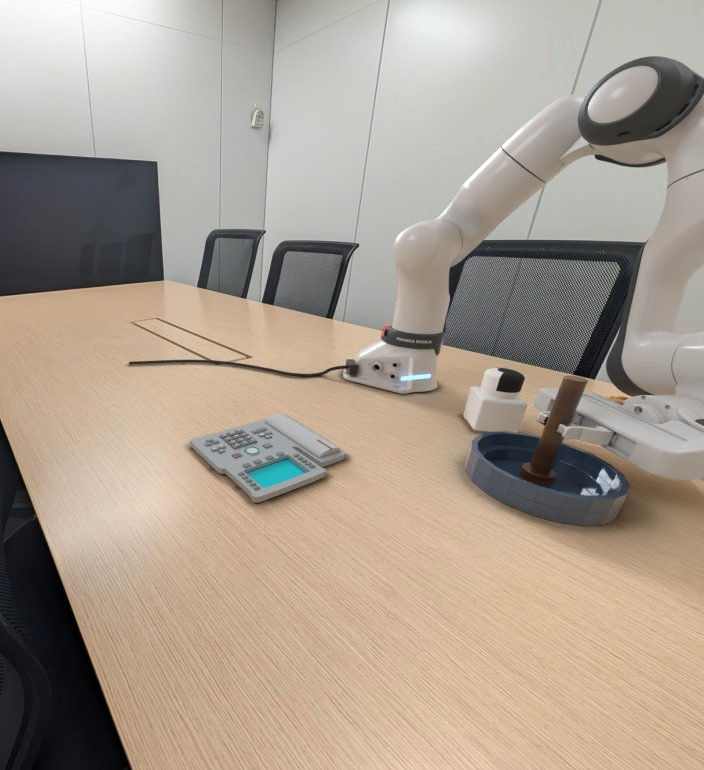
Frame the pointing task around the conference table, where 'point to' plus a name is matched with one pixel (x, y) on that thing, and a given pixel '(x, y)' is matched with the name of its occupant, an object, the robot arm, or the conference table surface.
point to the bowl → (557, 502)
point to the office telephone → (268, 455)
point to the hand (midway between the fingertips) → (550, 424)
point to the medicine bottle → (496, 402)
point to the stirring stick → (554, 432)
